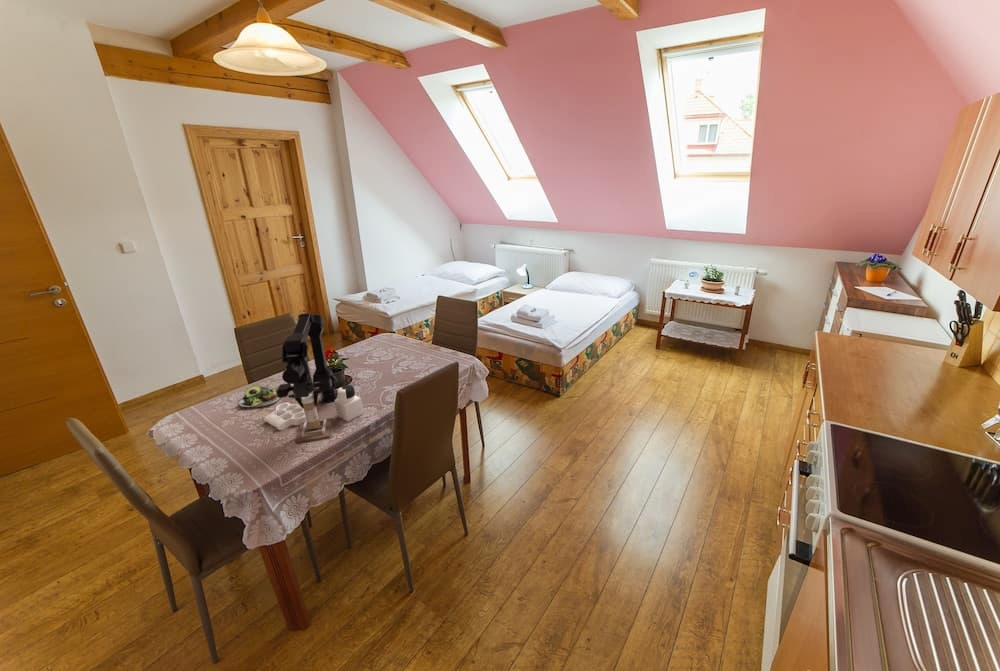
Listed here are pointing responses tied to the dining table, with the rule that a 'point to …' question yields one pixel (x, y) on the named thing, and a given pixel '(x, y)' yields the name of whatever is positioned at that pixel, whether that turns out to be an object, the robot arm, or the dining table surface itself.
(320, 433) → the brown flat square frame
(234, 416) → the dining table surface
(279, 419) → the white compartment tray
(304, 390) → the robot arm
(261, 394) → the salad plate
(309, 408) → the sprinkles bottle
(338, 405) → the container
